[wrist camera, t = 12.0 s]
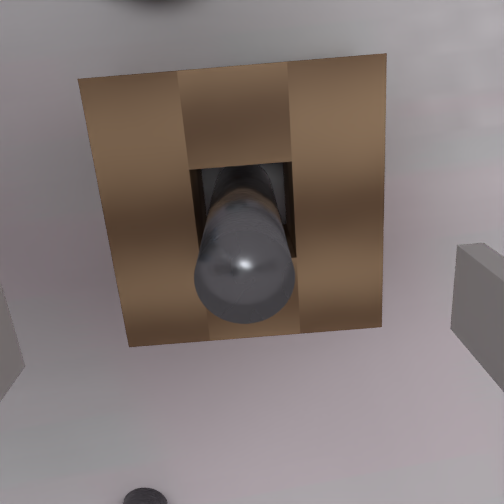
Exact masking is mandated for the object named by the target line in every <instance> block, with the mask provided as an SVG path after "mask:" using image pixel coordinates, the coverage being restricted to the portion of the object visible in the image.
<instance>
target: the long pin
mask: <svg viewBox="0 0 504 504" xmlns="http://www.w3.org/2000/svg"><path fill="white" fill-rule="evenodd" d="M194 284H195V289H196V292H197V295H198V297H199V299H200V300H201V302H202V303H203V305H204V306H205V307H206V308H207V309H208V310H209V311H210V312H211V313H213V314H214V315H216V316H217V317H219V318H221V319H223V320H226V321H229V322H232V323H239V324H250V323H256V322H260V321H263V320H266V319H268V318H270V317H272V316H273V315H275V314H276V313H278V312H279V311H280V310H281V309H282V308H283V307H284V306H285V304H286V303H287V302H288V300H289V299H290V296H291V294H292V292H293V289H294V284H295V270H294V266H293V262H292V258H291V255H290V251H289V248H288V244H287V240H286V237H285V233H284V229H283V226H282V222H281V218H280V215H279V211H278V208H277V204H276V200H275V197H274V193H273V189H272V186H271V182H270V179H269V177H268V175H267V173H266V172H265V171H264V170H263V169H262V168H261V167H260V166H259V165H257V164H254V165H241V166H229V167H225V168H224V169H223V170H222V171H221V172H220V173H219V175H218V177H217V179H216V183H215V187H214V191H213V195H212V200H211V204H210V208H209V212H208V216H207V220H206V225H205V229H204V233H203V237H202V241H201V245H200V250H199V254H198V258H197V262H196V266H195V271H194Z"/></svg>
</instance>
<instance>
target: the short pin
mask: <svg viewBox="0 0 504 504" xmlns="http://www.w3.org/2000/svg"><path fill="white" fill-rule="evenodd" d="M123 504H167V500H166V498H165V497H164V496H163V495H162V494H161V493H160V492H158V491H156V490H154V489H150V488H138V489H135V490H133V491H131V492H129V493H128V494H127V495H126V497H125V499H124V502H123Z"/></svg>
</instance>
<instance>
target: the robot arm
mask: <svg viewBox="0 0 504 504" xmlns="http://www.w3.org/2000/svg"><path fill="white" fill-rule="evenodd" d="M450 329H451V330H452V331H453V332H454V333H455V335H456V336H457V337H458V338H459V339H460V341H461V342H462V343H463V344H464V345H465V346H466V348H467V349H468V350H469V351H470V352H471V354H472V355H473V356H474V357H475V358H476V360H477V361H478V362H479V363H480V364H481V365H482V367H483V368H484V369H485V370H486V371H487V373H488V374H489V375H490V376H491V377H492V379H493V380H494V381H495V382H496V383H497V384H498V386H499V387H500V388H501V389H502V390H503V392H504V257H503V256H502V255H501V254H499V253H498V252H496V251H495V250H493V249H492V248H490V247H489V246H487V245H486V244H485V243H476V244H464V245H457V254H456V266H455V278H454V291H453V303H452V315H451V328H450ZM24 367H25V364H24V360H23V357H22V353H21V350H20V347H19V343H18V340H17V336H16V333H15V329H14V326H13V323H12V319H11V316H10V312H9V309H8V305H7V302H6V298H5V295H4V292H3V288H2V285H0V402H1V400H2V399H3V397H4V396H5V394H6V393H7V392H8V390H9V389H10V387H11V386H12V384H13V383H14V382H15V380H16V379H17V377H18V376H19V374H20V373H21V371H22V370H23V369H24Z"/></svg>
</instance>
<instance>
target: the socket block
mask: <svg viewBox="0 0 504 504" xmlns="http://www.w3.org/2000/svg"><path fill="white" fill-rule="evenodd" d="M386 62H387V53H385V54H373V55H361V56H349V57H337V58H325V59H312V60H300V61H288V62H276V63H264V64H252V65H240V66H228V67H216V68H204V69H192V70H180V71H168V72H156V73H144V74H132V75H119V76H107V77H95V78H83V79H78V83H79V88H80V93H81V99H82V104H83V109H84V114H85V119H86V125H87V130H88V135H89V140H90V146H91V151H92V156H93V161H94V166H95V172H96V177H97V182H98V187H99V193H100V198H101V203H102V208H103V214H104V219H105V224H106V229H107V234H108V240H109V245H110V250H111V255H112V261H113V266H114V271H115V276H116V281H117V287H118V292H119V297H120V302H121V308H122V313H123V318H124V323H125V328H126V334H127V339H128V344H129V347H137V346H149V345H162V344H174V343H187V342H200V341H212V340H225V339H238V338H250V337H263V336H275V335H288V334H301V333H313V332H326V331H338V330H351V329H364V328H376V327H382V282H383V227H384V172H385V117H386ZM278 162H283V172H284V191H285V209H286V224H282V226H283V229H284V233H285V237H286V240H287V244H288V248H289V251H290V255H291V258H292V262H293V266H294V270H295V284H294V289H293V292H292V294H291V296H290V299H289V300H288V302H287V303H286V304H285V306H284V307H283V308H282V309H281V310H280V311H279V312H278V313H276V314H275V315H273V316H272V317H270V318H268V319H266V320H263V321H260V322H256V323H250V324H239V323H232V322H229V321H226V320H223V319H221V318H219V317H217V316H216V315H214V314H213V313H211V312H210V311H209V310H208V309H207V308H206V307H205V306H204V305H203V303H202V302H201V300H200V299H199V297H198V295H197V292H196V289H195V284H194V271H195V266H196V262H197V258H198V254H199V250H200V245H201V241H202V237H203V233H204V229H205V225H206V220H207V216H206V207H205V198H204V190H203V181H202V172H201V169H205V168H217V167H229V166H241V165H254V164H266V163H278Z"/></svg>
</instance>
